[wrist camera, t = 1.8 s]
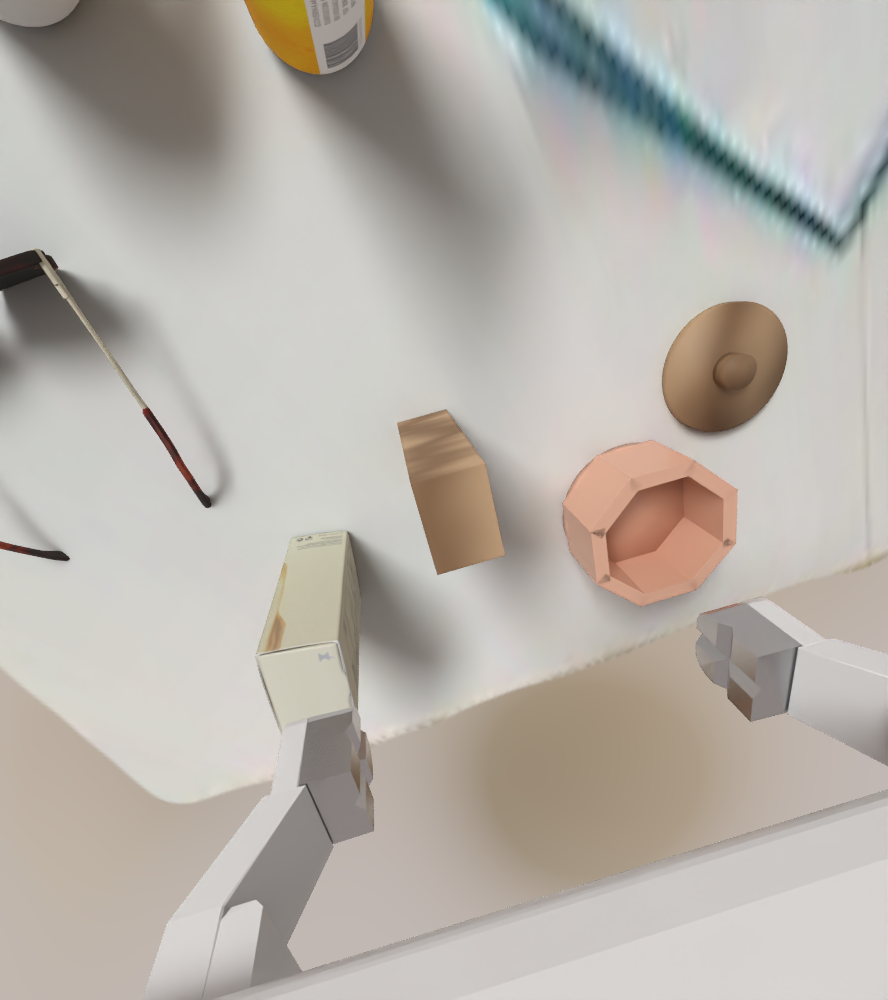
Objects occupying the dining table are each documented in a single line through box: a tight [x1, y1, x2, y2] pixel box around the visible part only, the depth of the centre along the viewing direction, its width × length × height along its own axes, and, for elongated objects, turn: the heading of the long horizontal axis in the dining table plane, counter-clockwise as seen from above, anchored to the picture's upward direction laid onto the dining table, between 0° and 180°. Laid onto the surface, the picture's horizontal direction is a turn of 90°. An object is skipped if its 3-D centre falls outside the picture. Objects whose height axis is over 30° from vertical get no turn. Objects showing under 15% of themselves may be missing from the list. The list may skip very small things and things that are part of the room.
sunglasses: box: [0, 249, 211, 561], centre depth 27 cm, size 14×16×5 cm
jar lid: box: [662, 301, 788, 432], centre depth 33 cm, size 9×9×2 cm
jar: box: [562, 440, 738, 607], centre depth 34 cm, size 11×11×6 cm
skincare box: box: [255, 531, 360, 735], centre depth 30 cm, size 6×4×12 cm
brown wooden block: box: [397, 410, 505, 575], centre depth 27 cm, size 4×5×12 cm
